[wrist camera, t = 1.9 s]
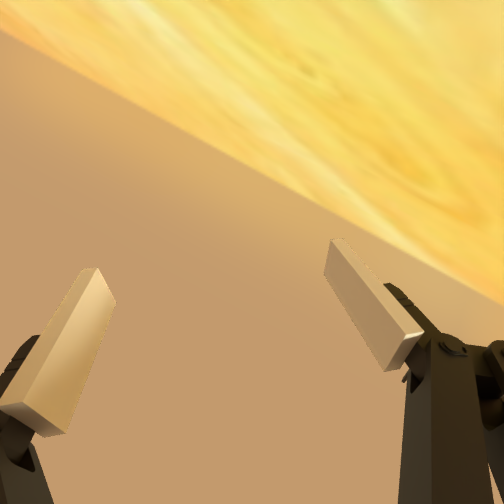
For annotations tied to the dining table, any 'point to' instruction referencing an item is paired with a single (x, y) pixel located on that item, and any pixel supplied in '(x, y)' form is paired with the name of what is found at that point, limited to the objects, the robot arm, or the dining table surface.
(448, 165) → the dining table surface
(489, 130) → the dining table surface
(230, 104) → the dining table surface
